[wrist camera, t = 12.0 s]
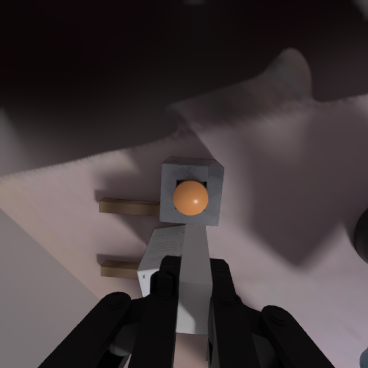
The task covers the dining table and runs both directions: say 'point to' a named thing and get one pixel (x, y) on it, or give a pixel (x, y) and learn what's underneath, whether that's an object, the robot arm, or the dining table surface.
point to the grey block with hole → (197, 171)
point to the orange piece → (190, 197)
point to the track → (134, 209)
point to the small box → (159, 252)
